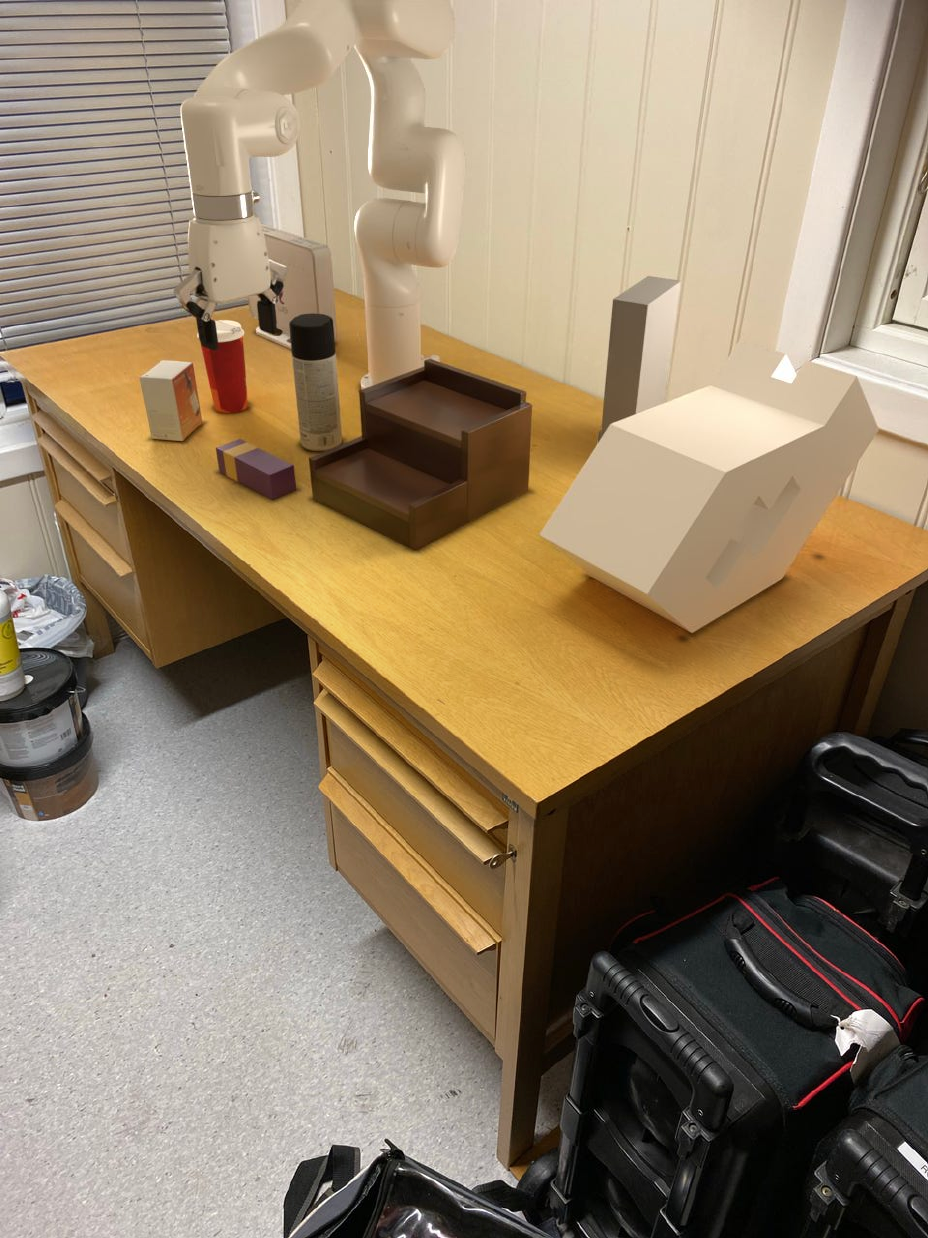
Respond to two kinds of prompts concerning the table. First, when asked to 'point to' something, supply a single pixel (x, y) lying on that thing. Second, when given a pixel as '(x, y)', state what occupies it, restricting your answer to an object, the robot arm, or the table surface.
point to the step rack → (429, 454)
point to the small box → (171, 400)
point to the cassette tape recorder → (640, 348)
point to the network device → (298, 281)
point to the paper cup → (227, 368)
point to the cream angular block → (715, 485)
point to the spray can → (316, 381)
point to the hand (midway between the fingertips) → (240, 339)
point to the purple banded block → (256, 469)
